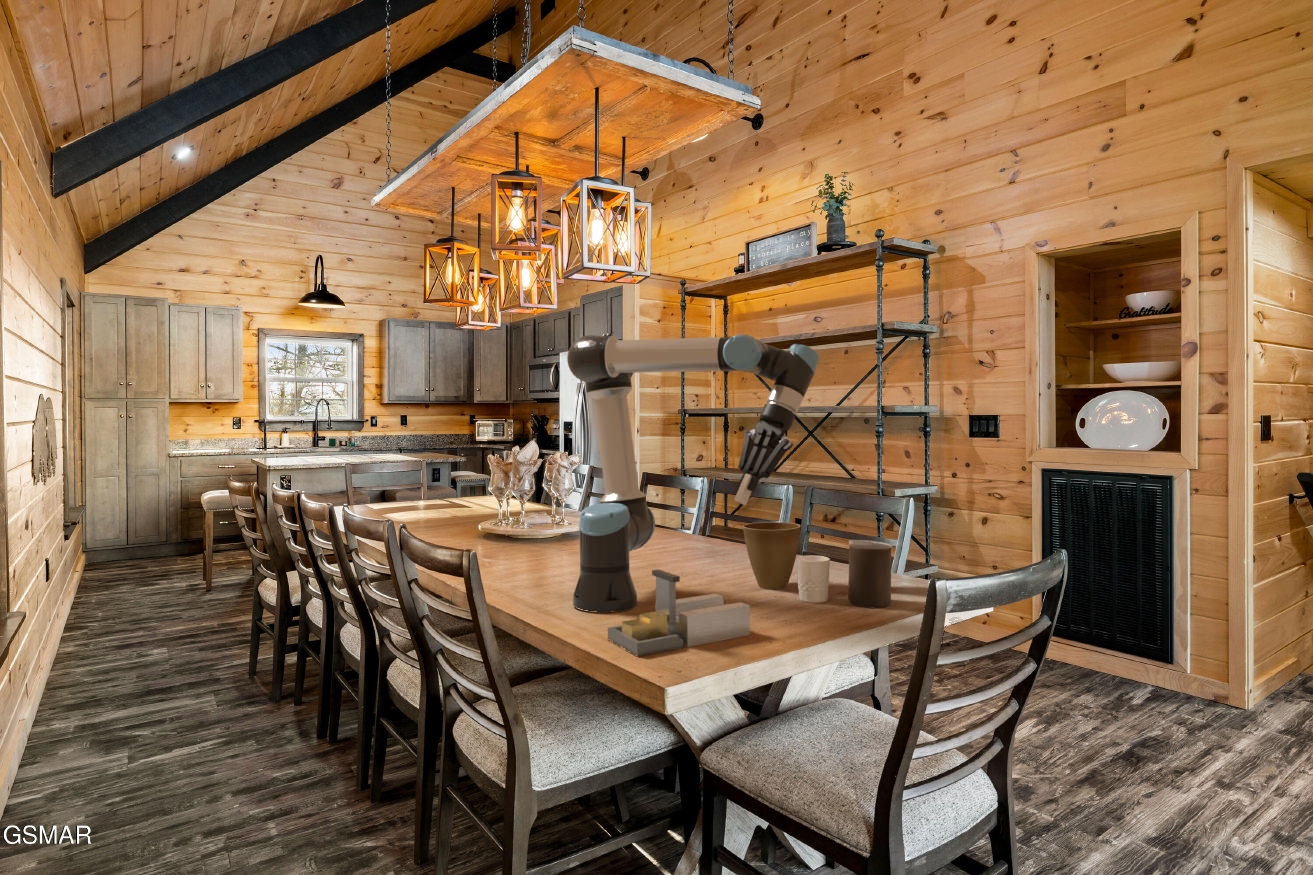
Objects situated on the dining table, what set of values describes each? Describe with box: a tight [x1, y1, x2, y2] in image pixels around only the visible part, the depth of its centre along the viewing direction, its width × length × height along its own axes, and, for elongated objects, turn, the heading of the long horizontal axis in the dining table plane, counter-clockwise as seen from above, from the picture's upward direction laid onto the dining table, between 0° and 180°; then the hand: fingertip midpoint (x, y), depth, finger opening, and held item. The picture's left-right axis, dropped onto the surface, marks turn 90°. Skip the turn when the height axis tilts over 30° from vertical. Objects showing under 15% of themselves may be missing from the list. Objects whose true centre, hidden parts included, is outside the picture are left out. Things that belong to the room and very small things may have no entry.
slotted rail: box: [668, 593, 751, 648], centre depth 148 cm, size 15×12×6 cm
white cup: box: [795, 554, 831, 604], centre depth 175 cm, size 8×8×10 cm
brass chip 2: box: [639, 610, 668, 639], centre depth 142 cm, size 4×4×4 cm
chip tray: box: [607, 624, 684, 657], centre depth 141 cm, size 10×12×2 cm
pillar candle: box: [847, 539, 892, 608], centre depth 172 cm, size 10×10×15 cm
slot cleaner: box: [651, 568, 681, 622], centre depth 144 cm, size 2×8×9 cm, turn 31°
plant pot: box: [742, 521, 801, 590], centre depth 190 cm, size 15×15×16 cm
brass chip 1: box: [621, 618, 650, 641], centre depth 140 cm, size 4×4×4 cm
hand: (739, 502), depth 163 cm, fingers closed
